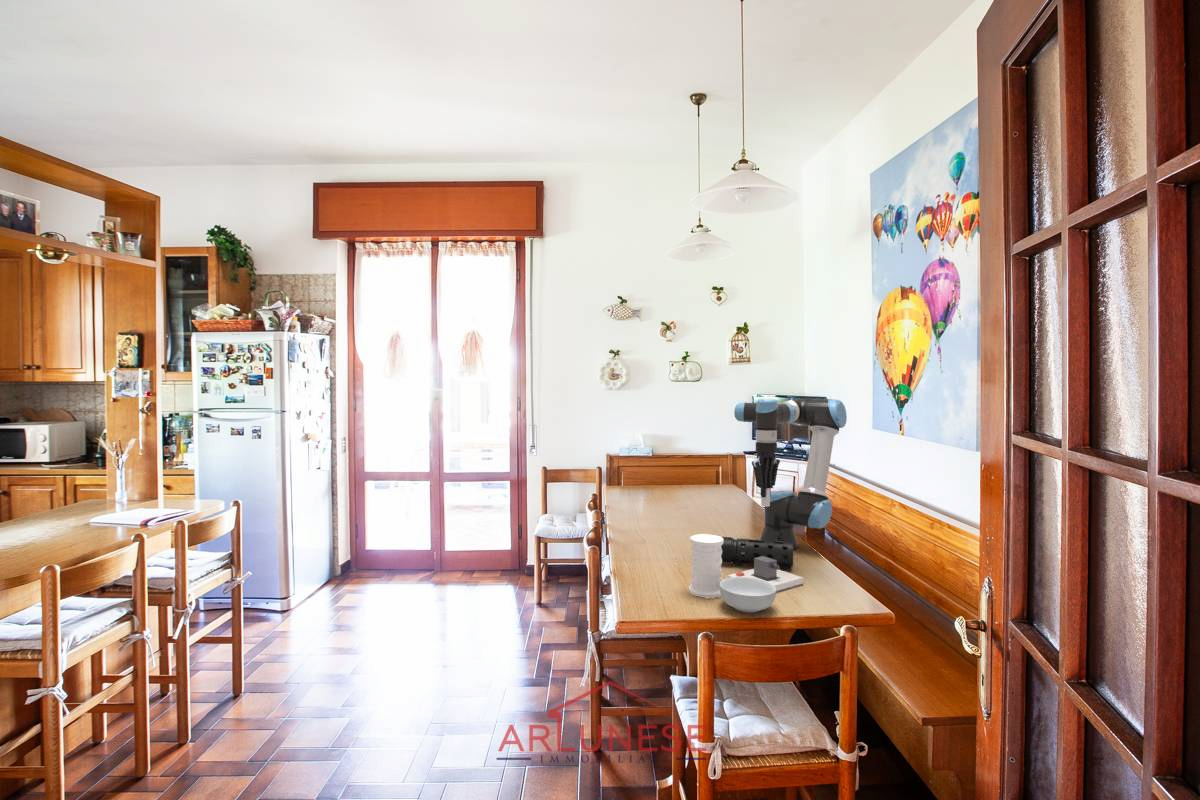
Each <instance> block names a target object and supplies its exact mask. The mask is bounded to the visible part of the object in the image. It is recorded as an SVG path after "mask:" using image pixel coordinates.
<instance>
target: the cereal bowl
mask: <svg viewBox="0 0 1200 800" xmlns="http://www.w3.org/2000/svg"><path fill="white" fill-rule="evenodd" d="M720 594H721V597H720V598H721V599H722V600H723V602H725V603H726V604H727V605H728V606H730V607H731V608H734V609H735V610H737V611H739V612H742V613H747V614H748V613H750V614H751V613H758V612H760V611H763V610H766V609H768V608H770V607H771V606H772V605H773V604H774V602H775V599H776V594H777V593H776V588H775V586H774V585H772V584H771V583H769V582H766V581H763V580H760V579H756V578H749V577H732V578H728V577H726V578H725V579H722V581H721V582H720Z"/></svg>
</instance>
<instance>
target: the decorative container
mask: <svg viewBox="0 0 1200 800" xmlns="http://www.w3.org/2000/svg"><path fill="white" fill-rule="evenodd" d="M722 537H723V536H719V535H715V534H708V533H698V534H694V535H691V536H690V538H689V539H690V541H689V542H690V544H691V549H690V550H691V558H690V560H691V567H690V570H691V576H690V581H691V584H689V586H688V593H689V592H690V593H691V594H693V595H695V596H694V597H696V596H700V597H709V598H710V599H716V598H715V597H718V598H722V597H721V594H720V582H721V581H722V580H723V579H722V574H723V569H722V564H723V562H722V558H721V554H722V548H721V545H723V544H724V539H723V538H722ZM690 593H689V594H690ZM691 594H690V595H691ZM693 595H692V596H693ZM700 597H699V598H700ZM709 598H708V599H709Z"/></svg>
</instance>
